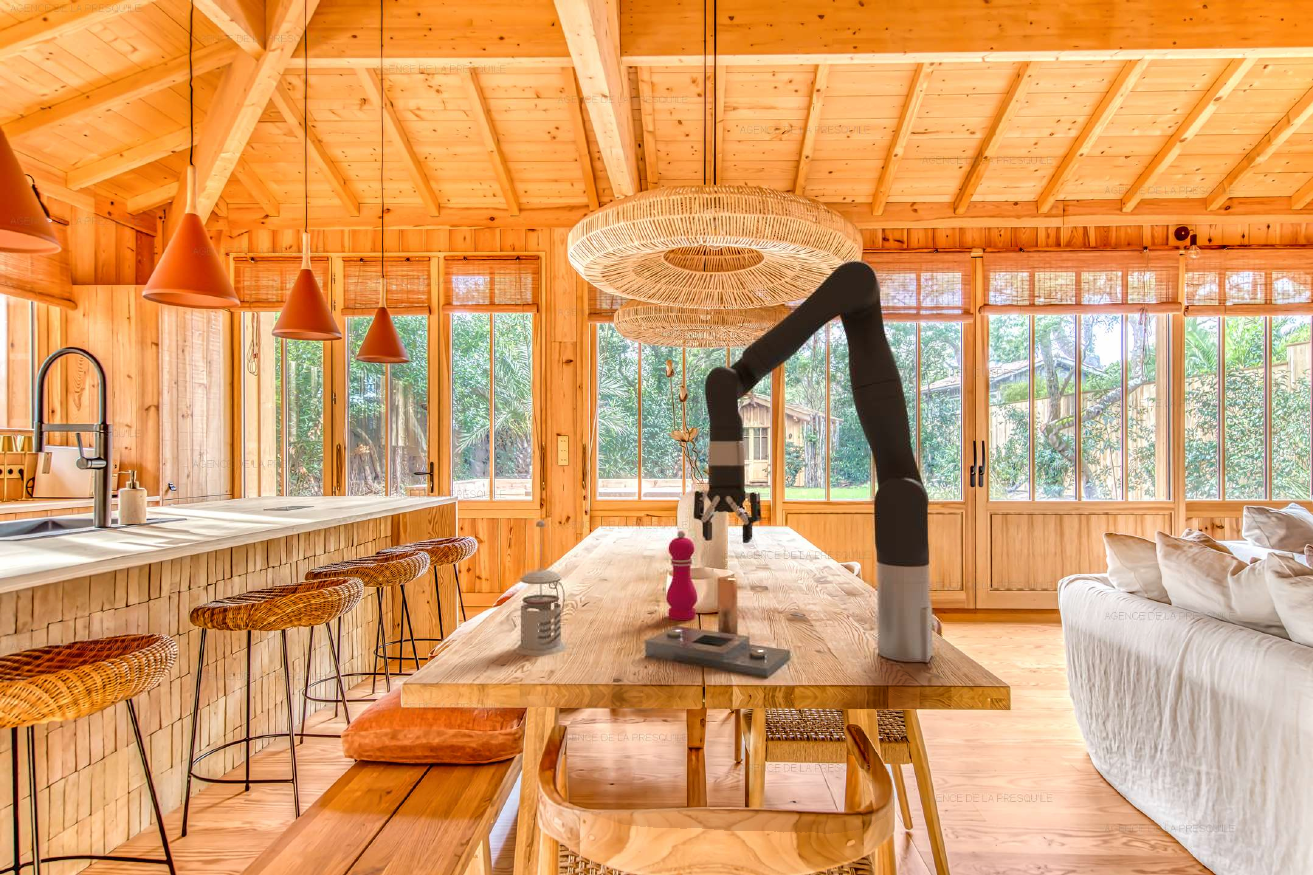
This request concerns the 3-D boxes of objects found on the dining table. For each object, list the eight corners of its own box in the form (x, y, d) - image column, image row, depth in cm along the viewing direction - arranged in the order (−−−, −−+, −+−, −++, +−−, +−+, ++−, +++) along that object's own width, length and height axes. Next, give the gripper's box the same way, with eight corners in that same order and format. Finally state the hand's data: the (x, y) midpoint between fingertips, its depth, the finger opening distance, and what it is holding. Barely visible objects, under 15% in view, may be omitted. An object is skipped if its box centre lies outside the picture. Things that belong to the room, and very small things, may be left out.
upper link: (749, 652, 126) (749, 631, 126) (723, 670, 116) (723, 647, 116) (675, 640, 134) (675, 620, 134) (645, 656, 124) (645, 635, 124)
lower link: (790, 658, 122) (790, 644, 122) (767, 677, 112) (767, 662, 112) (702, 644, 131) (702, 632, 131) (673, 661, 121) (673, 647, 121)
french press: (504, 651, 128) (504, 521, 128) (542, 636, 138) (541, 516, 139) (545, 658, 123) (545, 524, 124) (581, 642, 133) (580, 518, 134)
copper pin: (740, 635, 138) (740, 577, 138) (733, 640, 134) (732, 580, 135) (723, 632, 140) (722, 575, 140) (715, 637, 136) (714, 579, 137)
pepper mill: (700, 614, 156) (699, 529, 157) (693, 621, 149) (693, 532, 150) (670, 612, 158) (670, 528, 159) (662, 619, 151) (662, 532, 152)
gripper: (765, 463, 138) (765, 541, 137) (703, 463, 145) (703, 537, 144) (751, 463, 131) (752, 545, 131) (687, 463, 138) (688, 541, 138)
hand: (727, 541), depth 137 cm, fingers open, 8 cm apart
